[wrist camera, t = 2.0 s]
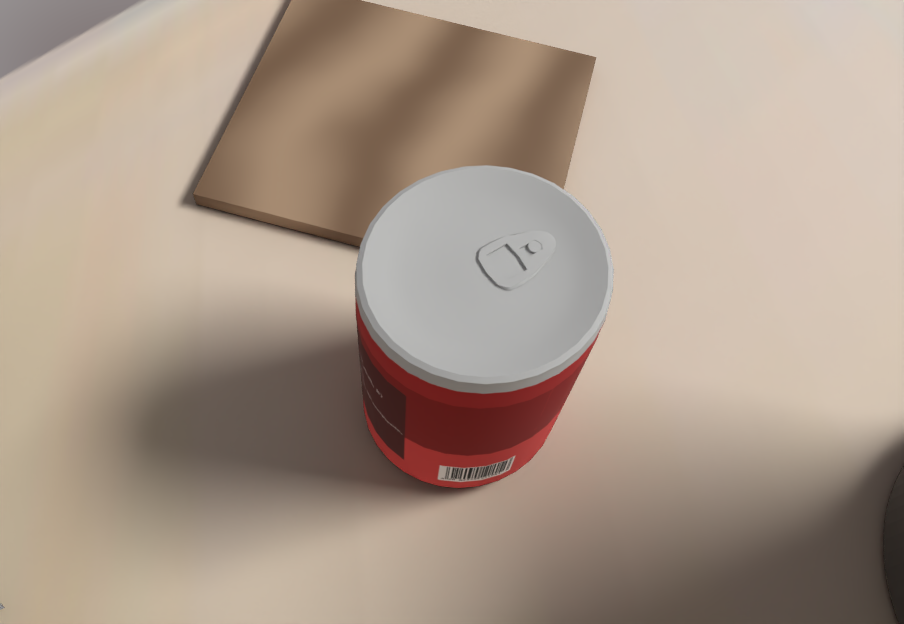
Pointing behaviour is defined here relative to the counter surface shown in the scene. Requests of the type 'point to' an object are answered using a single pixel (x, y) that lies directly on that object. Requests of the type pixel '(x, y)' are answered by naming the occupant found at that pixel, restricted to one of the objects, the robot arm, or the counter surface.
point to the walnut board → (386, 114)
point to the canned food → (476, 319)
